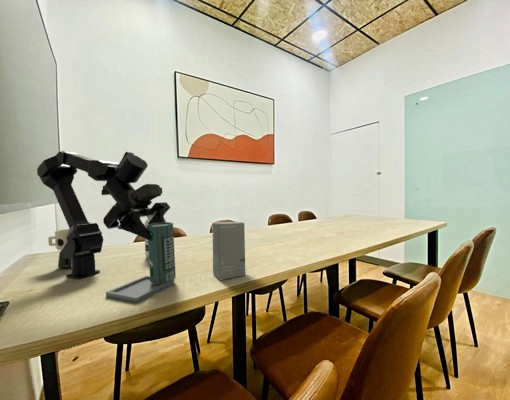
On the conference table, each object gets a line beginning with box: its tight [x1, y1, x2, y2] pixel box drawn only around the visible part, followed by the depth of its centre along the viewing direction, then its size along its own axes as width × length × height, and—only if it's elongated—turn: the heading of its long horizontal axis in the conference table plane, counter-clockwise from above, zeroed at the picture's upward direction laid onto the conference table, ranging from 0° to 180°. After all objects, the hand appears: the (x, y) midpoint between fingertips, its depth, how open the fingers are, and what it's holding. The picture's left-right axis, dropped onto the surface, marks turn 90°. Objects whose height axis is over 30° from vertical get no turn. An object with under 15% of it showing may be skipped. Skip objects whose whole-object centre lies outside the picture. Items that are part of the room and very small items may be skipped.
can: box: [147, 221, 177, 284], centre depth 62 cm, size 6×6×15 cm
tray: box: [105, 275, 175, 304], centre depth 59 cm, size 10×12×1 cm
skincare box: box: [211, 221, 246, 281], centre depth 69 cm, size 8×7×16 cm
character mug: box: [48, 228, 71, 269], centre depth 81 cm, size 11×7×13 cm, turn 116°
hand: (159, 236), depth 62 cm, fingers closed on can, 6 cm apart
